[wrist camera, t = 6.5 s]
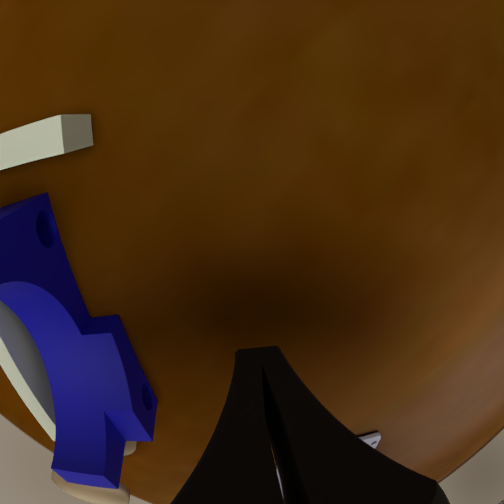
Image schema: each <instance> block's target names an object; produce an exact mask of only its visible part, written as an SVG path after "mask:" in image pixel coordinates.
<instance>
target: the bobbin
mask: <svg viewBox="0 0 504 504" xmlns="http://www.w3.org/2000/svg"><path fill="white" fill-rule="evenodd" d="M136 444H137V441H126V443H125V449H124V455H123V456H125V455H129V454H131V453H133V452H134V451H135V449H136ZM51 479H52V480H53V482H54V483H55V484H56V485H57V486H58V487H59V488H61V489H62V490H64V491H66V492H67V493H69V494H71V495H73V496H75V497H77V498H79V499H82V500H85V501H88V502H90V503H94V504H129V500H130V490H129V489H128V488H127V487H126V486H125V485H123V484H122V483H120V482H119V489H110V488H102V487H94V486H87V485H81V484H75V483H69V482H67V481H65V480H64V479H63V478H62V477H61V476H59V475H58V474H57V473H56V472H55V471H54V470H53V472H52V476H51Z"/></svg>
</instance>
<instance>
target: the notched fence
mask: <svg viewBox="0 0 504 504" xmlns="http://www.w3.org/2000/svg"><path fill="white" fill-rule="evenodd" d="M89 146H93V135H92V123H91V114H70V115H58V116H54V117H51V118H47V119H44V120H41V121H37V122H34V123H31V124H28V125H25V126H22V127H19V128H16V129H13V130H10V131H7V132H5V133H2V134H0V170H3V169H6V168H10V167H13V166H17V165H20V164H24V163H28V162H31V161H35V160H39V159H43V158H47V157H51V156H55V155H60V154H64V153H68V152H71V151H75V150H78V149H82V148H86V147H89ZM0 365H1V367H2V368H3V370H4V372H5V373H6V375H7V377H8V378H9V380H10V381H11V383H12V385H13V386H14V388H15V389H16V391H17V392H18V394H19V395H20V397H21V398H22V400H23V401H24V403H25V404H26V405H27V407H28V408H29V410H30V411H31V413H32V414H33V415H34V417H35V418H36V419H37V421H38V422H39V423H40V425H41V426H42V427H43V428H44V430H45V431H46V432H47V434H48V435H49V436H50V437H51V438H52V440H53V441H55V436H56V425H55V411H54V403H53V397H52V392H51V387H50V383H49V379H48V376H47V372H46V369H45V366H44V363H43V360H42V358H41V355H40V353H39V351H38V348H37V346H36V344H35V342H34V340H33V339H32V337H31V335H30V333H29V332H28V330H27V328H26V327H25V325H24V324H23V323H22V321H21V320H20V319H19V318H18V316H17V315H16V314H15V313H14V312H13V311H12V310H11V309H10V308H9V307H8V306H7V305H5V304H4V303H3V302H2V301H0Z"/></svg>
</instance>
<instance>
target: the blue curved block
mask: <svg viewBox="0 0 504 504" xmlns="http://www.w3.org/2000/svg"><path fill="white" fill-rule="evenodd" d="M0 301H2V302H3V303H4V304H5V305H7V306H8V307H9V308H10V309H11V310H12V311H13V312H14V313H15V314H16V315H17V316H18V318H19V319H20V320H21V321H22V323H23V324H24V325H25V327H26V328H27V330H28V332H29V333H30V335H31V337H32V339H33V340H34V342H35V344H36V346H37V348H38V351H39V353H40V355H41V358H42V360H43V363H44V366H45V369H46V372H47V376H48V379H49V383H50V387H51V392H52V397H53V403H54V411H55V425H56V436H55V450H54V456H53V462H52V466H51V468H52V469H53V470H54V471H55V472H56V473H57V474H58V475H59V476H61V477H62V478H63V479H64V480H65V481H67V482H69V483H75V484H81V485H87V486H94V487H102V488H110V489H119V482H120V475H121V468H122V462H123V455H124V449H125V443H126V441H153V433H154V425H155V417H156V409H157V402H158V400H157V398H156V396H155V395H154V393H153V391H152V389H151V387H150V385H149V383H148V381H147V378H146V376H145V374H144V372H143V370H142V368H141V366H140V364H139V362H138V359H137V357H136V355H135V353H134V351H133V348H132V346H131V344H130V342H129V339H128V337H127V335H126V332H125V330H124V327H123V325H122V322H121V320H120V318H119V315H112V316H103V317H94V318H90V316H89V313H88V311H87V309H86V306H85V304H84V302H83V299H82V297H81V294H80V292H79V289H78V287H77V284H76V281H75V279H74V276H73V273H72V271H71V268H70V265H69V262H68V260H67V257H66V254H65V251H64V248H63V245H62V242H61V239H60V235H59V232H58V229H57V226H56V222H55V219H54V215H53V212H52V208H51V204H50V201H49V197H48V193H43V194H40V195H37V196H34V197H31V198H28V199H25V200H22V201H19V202H16V203H13V204H10V205H7V206H4V207H2V208H0Z"/></svg>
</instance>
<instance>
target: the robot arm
mask: <svg viewBox="0 0 504 504" xmlns="http://www.w3.org/2000/svg"><path fill="white" fill-rule="evenodd" d="M269 439H270V440H269ZM380 439H381V435H380V433H373V434H369V435H366V436H362V437H357V436H356V435H355V434H354V433H352V432H351V431H350V430H349V429H347V428H346V427H345V426H344V425H343V424H342V423H341V422H339V421H338V420H337V419H336V418H335V417H334V416H333V415H332V414H331V413H330V412H329V411H328V410H327V409H326V408H325V407H324V406H323V405H322V404H321V403H320V402H319V401H318V400H317V399H316V397H315V396H314V395H313V394H312V393H311V392H310V390H309V389H308V388H307V387H306V386H305V384H304V383H303V382H302V381H301V380H300V378H299V377H298V376H297V374H296V373H295V371H294V370H293V369H292V367H291V366H290V364H289V363H288V361H287V360H286V358H285V357H284V355H283V353H282V352H281V350H280V348H279V347H277V346H270V347H260V348H250V349H239V350H238V351H236V352H235V367H234V373H233V377H232V382H231V385H230V389H229V393H228V396H227V399H226V403H225V405H224V408H223V411H222V413H221V416H220V419H219V421H218V424H217V426H216V429H215V431H214V433H213V435H212V437H211V440H210V442H209V444H208V446H207V448H206V450H205V451H204V453H203V455H202V457H201V459H200V460H199V462H198V464H197V466H196V467H195V469H194V471H193V472H192V474H191V475H190V477H189V478H188V480H187V481H186V483H185V484H184V486H183V487H182V488H181V490H180V491H179V493H178V494H177V496H176V497H175V498H174V500H173V501H172V502H171V503H170V504H450V503H449V501H448V499H447V497H446V495H445V493H444V491H443V490H442V489H441V487H440V486H439V484H438V483H437V481H435V480H433V479H430V478H428V477H426V476H423V475H421V474H419V473H417V472H415V471H412V470H410V469H408V468H406V467H404V466H403V465H401V464H399V463H397V462H395V461H393V460H392V459H390V458H388V457H387V456H385V455H384V454H382V453H380V452H379V451H377V450H376V449H375V448H376V446H377V444H378V443H379V441H380ZM270 443H271V445H270ZM271 447H272V449H271ZM272 450H273V454H274V457H275V461H276V464H277V469H276V467H275V463H274V458H273V454H272ZM283 498H284V499H283ZM499 504H504V500H503V501H501V502H500V503H499Z"/></svg>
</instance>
